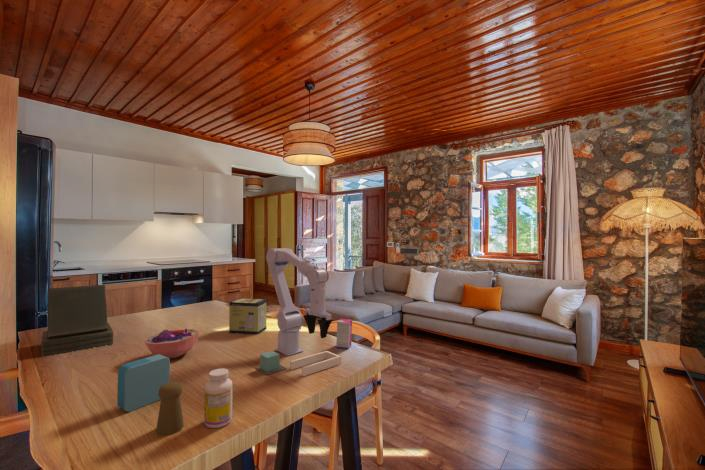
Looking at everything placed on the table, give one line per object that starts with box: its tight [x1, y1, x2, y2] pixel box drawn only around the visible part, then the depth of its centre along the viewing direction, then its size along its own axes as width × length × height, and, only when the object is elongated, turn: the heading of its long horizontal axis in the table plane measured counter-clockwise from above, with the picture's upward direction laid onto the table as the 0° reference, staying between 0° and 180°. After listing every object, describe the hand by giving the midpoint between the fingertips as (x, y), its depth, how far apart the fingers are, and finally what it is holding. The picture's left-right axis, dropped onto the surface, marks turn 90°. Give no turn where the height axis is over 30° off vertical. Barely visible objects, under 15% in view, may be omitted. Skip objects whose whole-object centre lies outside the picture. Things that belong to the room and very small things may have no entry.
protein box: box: [228, 298, 267, 335], centre depth 167 cm, size 10×16×16 cm
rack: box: [289, 350, 342, 377], centre depth 121 cm, size 8×17×3 cm, turn 133°
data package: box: [116, 355, 171, 413], centre depth 94 cm, size 12×4×12 cm, turn 148°
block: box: [259, 350, 281, 372], centre depth 119 cm, size 5×5×5 cm
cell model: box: [143, 328, 199, 360], centre depth 131 cm, size 17×20×11 cm
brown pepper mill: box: [155, 381, 184, 437], centre depth 81 cm, size 6×6×11 cm
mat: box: [255, 364, 287, 376], centre depth 119 cm, size 8×8×1 cm
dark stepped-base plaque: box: [40, 284, 114, 358], centre depth 144 cm, size 23×20×25 cm
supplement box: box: [335, 318, 353, 350], centre depth 144 cm, size 6×6×12 cm
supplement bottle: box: [204, 367, 233, 429], centre depth 84 cm, size 7×7×13 cm
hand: (317, 335), depth 127 cm, fingers open, 7 cm apart
